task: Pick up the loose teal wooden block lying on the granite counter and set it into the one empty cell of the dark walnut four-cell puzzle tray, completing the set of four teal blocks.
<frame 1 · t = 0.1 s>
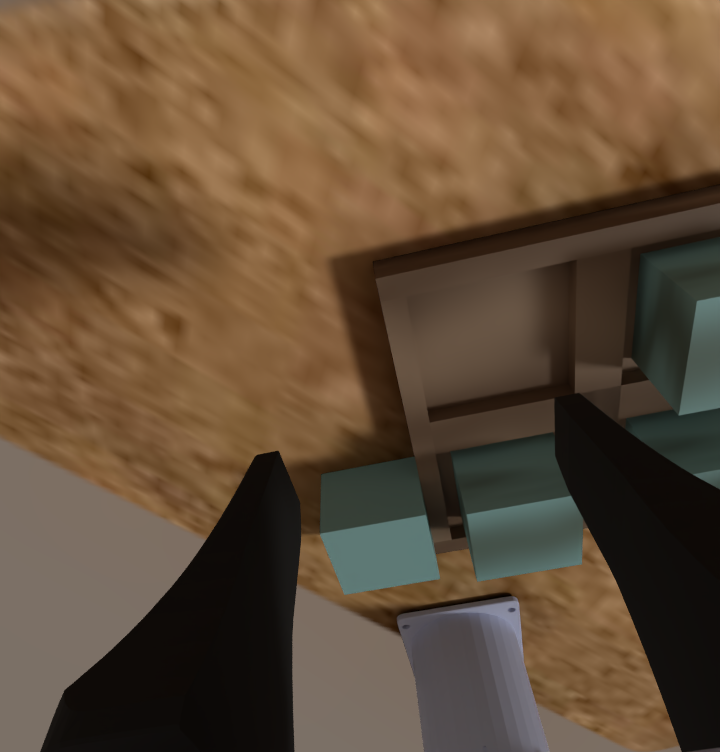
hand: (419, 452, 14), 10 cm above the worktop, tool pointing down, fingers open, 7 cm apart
teal block: (377, 495, 30), on the worktop
puzzle tray: (583, 386, 26), on the worktop
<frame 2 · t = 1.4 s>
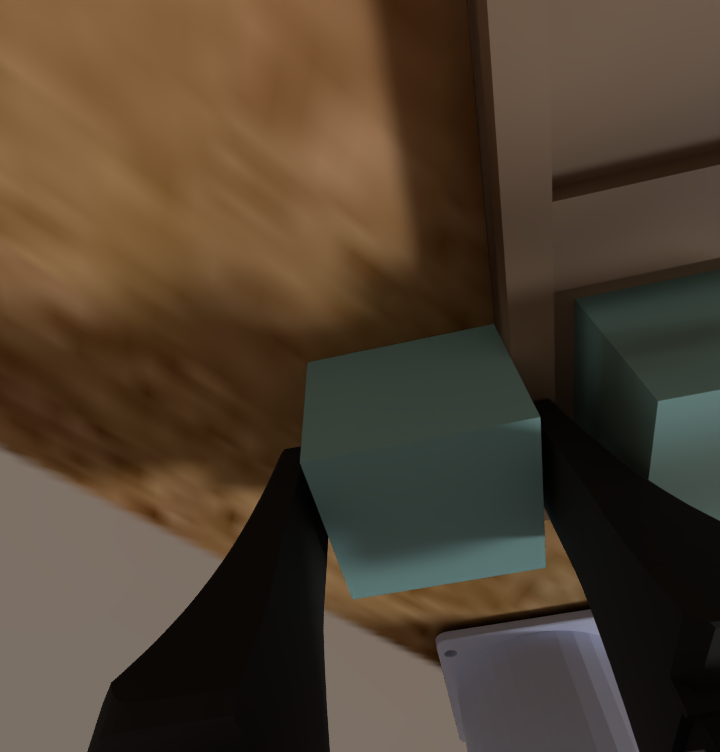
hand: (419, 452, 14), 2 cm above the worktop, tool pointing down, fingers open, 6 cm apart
teal block: (413, 412, 16), on the worktop
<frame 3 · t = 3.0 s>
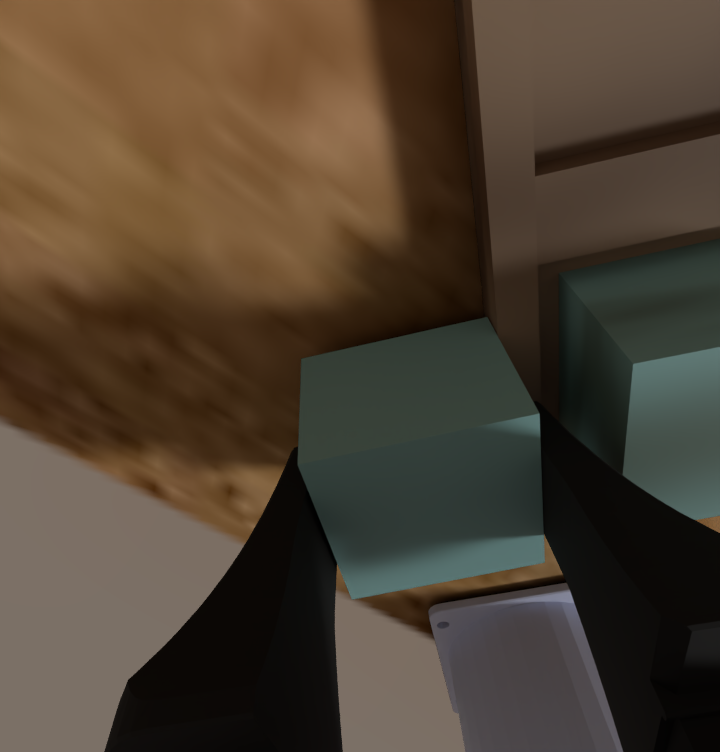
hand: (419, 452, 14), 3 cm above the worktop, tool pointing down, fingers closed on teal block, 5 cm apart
teal block: (408, 409, 16), point 1 cm above the worktop, touching gripper
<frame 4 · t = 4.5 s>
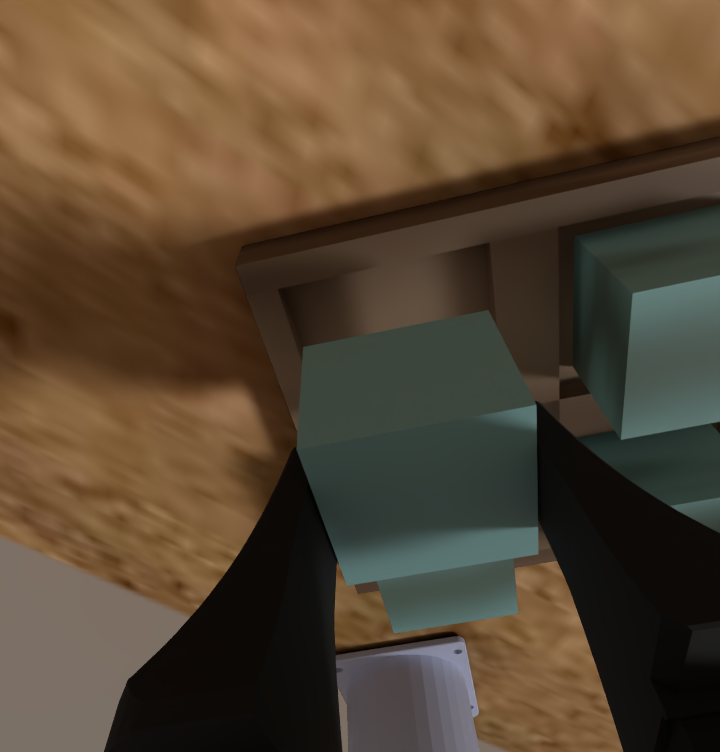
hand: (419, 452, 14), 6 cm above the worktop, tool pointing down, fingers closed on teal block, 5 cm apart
teal block: (408, 400, 16), point 4 cm above the worktop, touching gripper
puzzle tray: (520, 399, 21), on the worktop
when the fingers open (4 cm above the worktop, at t = 5.7 s): teal block drops 1 cm, resting on puzzle tray.
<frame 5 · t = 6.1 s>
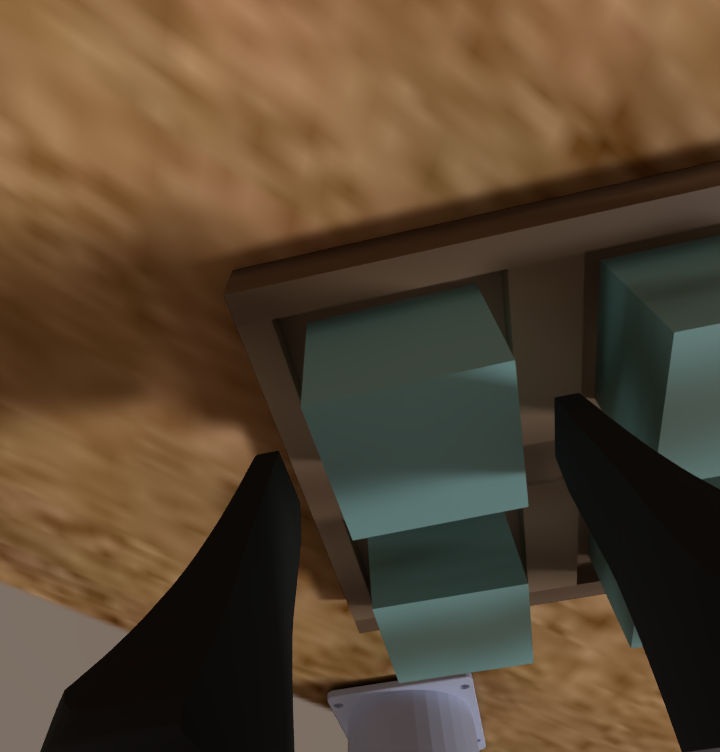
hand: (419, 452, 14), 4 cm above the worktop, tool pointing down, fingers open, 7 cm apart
teal block: (406, 372, 17), point 1 cm above the worktop, touching puzzle tray
puzzle tray: (535, 431, 20), on the worktop
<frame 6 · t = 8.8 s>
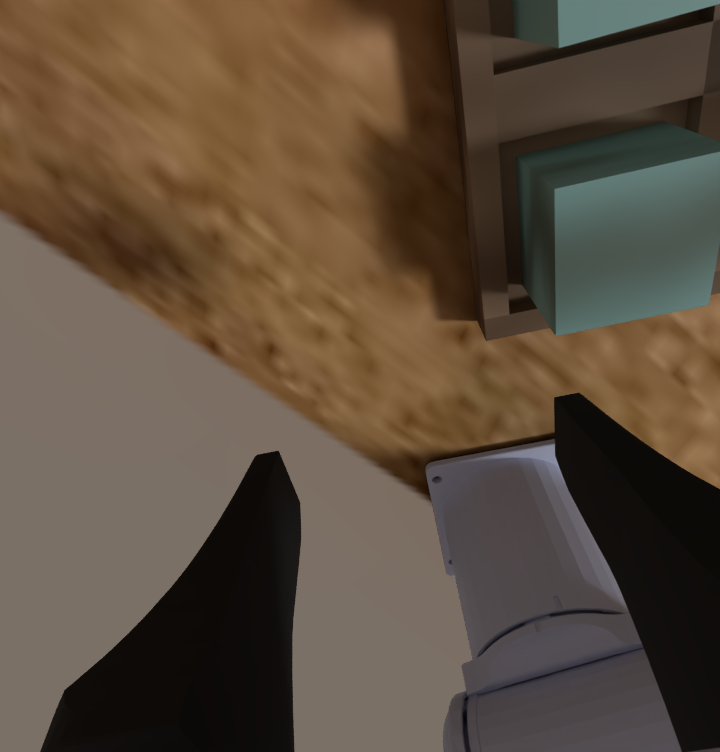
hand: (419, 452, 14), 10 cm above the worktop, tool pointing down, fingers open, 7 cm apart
puzzle tray: (711, 47, 18), on the worktop
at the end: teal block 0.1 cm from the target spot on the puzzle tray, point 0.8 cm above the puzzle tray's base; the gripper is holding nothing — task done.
